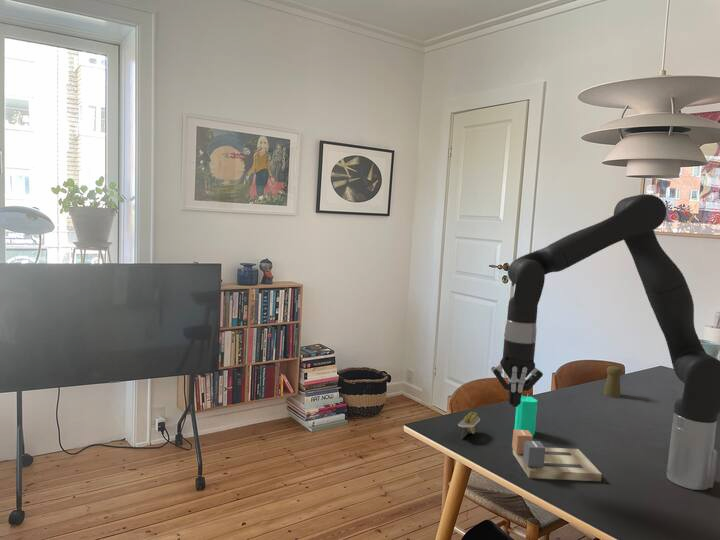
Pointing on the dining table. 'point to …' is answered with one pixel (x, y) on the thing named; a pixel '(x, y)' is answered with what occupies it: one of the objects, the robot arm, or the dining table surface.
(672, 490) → the dining table surface
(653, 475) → the dining table surface
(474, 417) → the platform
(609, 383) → the cork
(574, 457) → the panel
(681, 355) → the robot arm
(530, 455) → the fader
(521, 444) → the block
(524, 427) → the candle
